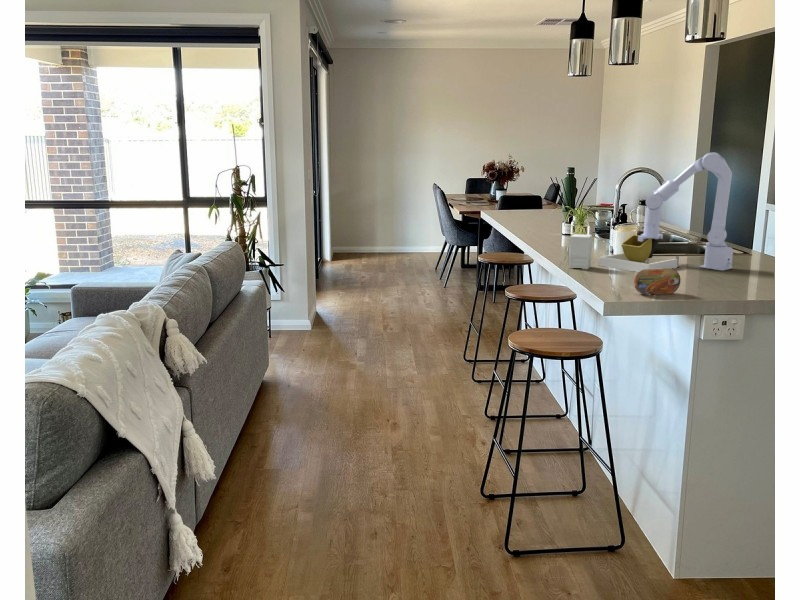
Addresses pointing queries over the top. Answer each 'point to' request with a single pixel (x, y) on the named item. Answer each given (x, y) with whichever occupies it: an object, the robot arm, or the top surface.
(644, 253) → the flower pot
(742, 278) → the top surface
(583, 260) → the supplement box
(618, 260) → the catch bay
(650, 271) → the tin
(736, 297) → the top surface
